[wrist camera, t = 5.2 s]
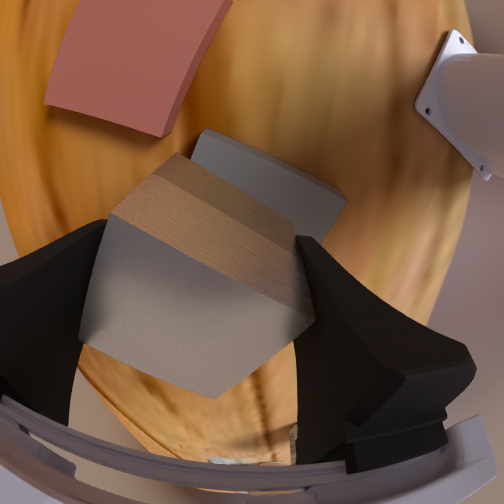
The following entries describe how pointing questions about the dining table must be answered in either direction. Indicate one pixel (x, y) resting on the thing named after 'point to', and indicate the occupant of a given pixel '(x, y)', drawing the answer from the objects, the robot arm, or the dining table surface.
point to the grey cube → (195, 281)
